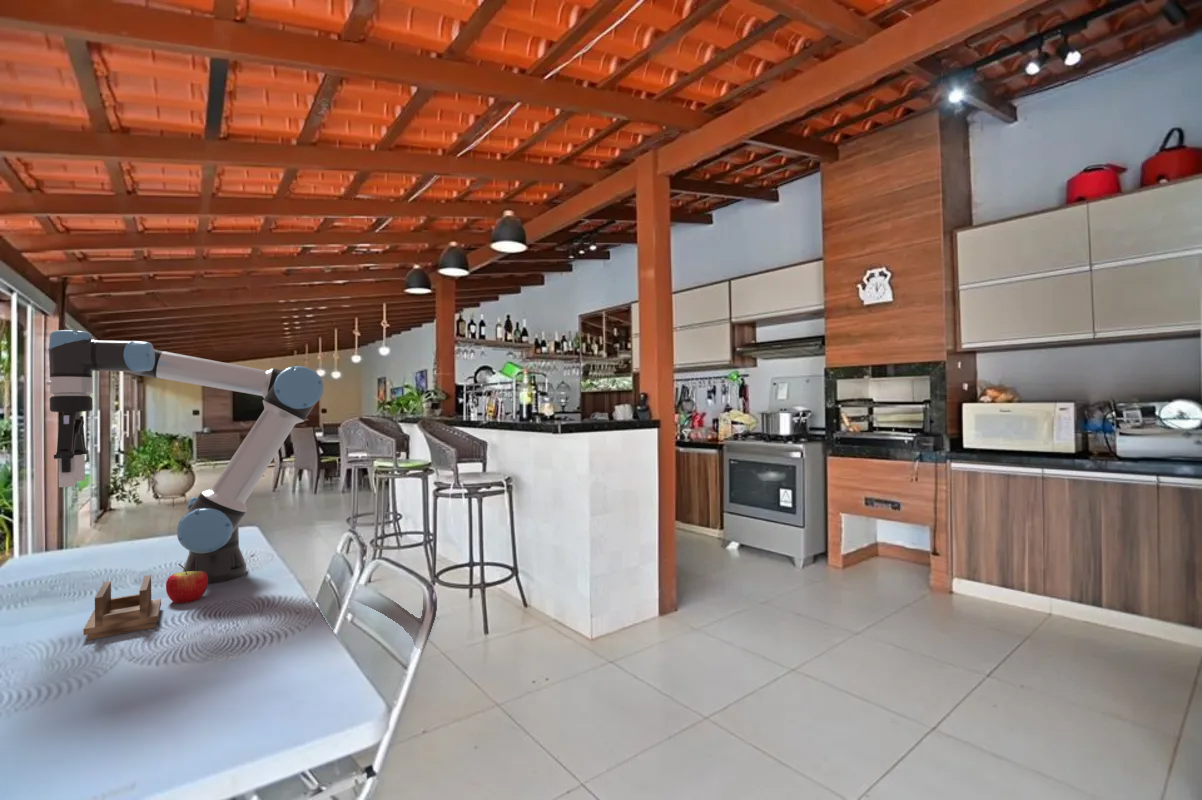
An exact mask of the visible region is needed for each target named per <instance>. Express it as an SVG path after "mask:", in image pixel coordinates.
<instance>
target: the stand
mask: <svg viewBox="0 0 1202 800" xmlns="http://www.w3.org/2000/svg"><path fill="white" fill-rule="evenodd" d="M161 606H162V598H158V599H152V574H149V575H144V577H143V580H142V582H141V585H140V587H139V593H138V594H131V595H125V596H124V595H123V596H119V597H114V598H113V597H112V581H111V580H109V581H108V580H107V581H104V582H103V583H102V585H101V586H100V588H99V590H98V591H97V593H96V595H95V597H94V610H93V611H92V613H91V615H90V616H89V619H88V620H87V622H86V624H85V625H84V628H83V633H82V634H83V636H86V635H87V637H86V638H87V641H88V640H95V639H99V638H106V637H111V636H115V635H121V634H125V633H131V632H138V631H141V630H147V629H152V628H156V623H157V622H158V621H159V617H160V616H159V615H160V611H161Z"/></svg>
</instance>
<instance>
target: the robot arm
mask: <svg viewBox="0 0 1202 800" xmlns="http://www.w3.org/2000/svg"><path fill="white" fill-rule="evenodd" d="M48 341H49V342H48V345H49V346H48V349H47V351H48V361H49V362H48V364H49V365H48V366H49V380H48V381H46V382H45V385H46V386H49V394H51V395H52V396H50V397H49V412H52V413H62V415H59V416H58V420H59V421H58V435H57V447H56V452H55V454H53V459H54V460H58V461H57V462H58V464H57V465H58V488H69V487H76V482H84V481H86V456H85V455H89V452H90V451H89V449H87V447H86V440H85V439H86V438H85V429H84V426H85V421H84V418H85V417H84V415H83V414H81V413H82V412H84V413H85V412H92V411H93V408H94V407H93V397H92V396H90V395H92V394H93V393H94V392H93V391H94V390H93V389H94V388H93V382H94V381H93V372H95V371H96V372H102V371H103V372H123V373H127V374H130V375H134V376H139V377H140V376H144V377H149V378H156V379H161V380H162V379H163V380H167V381H172V382H174V381H175V382H179V383H185V384H190V385H196V386H201V387H202V386H203V387H208V388H209V387H210V388H215V389H221V390H226V391H233V392H238V393H244V394H249V395H256V396H261V397H262V398H263V400H262V404H263V407H264V408H263V411H262V412H261V414H260V415H259V417H258V418H257V420H256V421H255V423H254V424H253V426H252V427H251V429H250V430H249V432H248V433H247V434H246V436H245V438H244V439H243V440H242V442H241V444H240V445H239V447H238V448H237V450H236V451H235V453H234V454H233V456H232V457H231V458H230V460H229V462H228V463H227V464H226V466H225V467H224V469H223V471H222V473H220V474H219V476H218V478H217V479H216V481H215V483H214V485H213V486H212V487H211V488H209V489H206V490H202V491H201V492H200V494H199V495H198V496H197V497H196V496H195V497H190V498H189V500H188V505H187V511H188V512H186V514H184V516H183V517H181V518H180V520H179V522H178V523H177V528H176V536H177V540H178V541H179V543H180V545H181V546H182V547H183V548H184V549H185V550H187V551H188V556H187V558H186V561H185V565H184V566H183V567H184V568H185V570H186V572H187V571H204V572H205V573H206V574H207V576H208V585H210V584H211V585H212V584H217V583H222V582H223V583H224V582H227V581H230V580H235V579H237V578H240V577H242V576H244V575H245V574H247V562H246V560H245V558H244V556H243V554H242V553H243V552H242V551H241V549H240V540H239V539H240V536H239V535H240V533H239V530H240V529H239V524H240V522H241V520H242V519H243V518H244V515H245V514H246V513H247V511H248V508H247V506H246V505H247V504H246V501H247V500H248V498H249V497H250V496H251V494H252V492H253V490H254V489H255V487H256V486H257V485H258V483H259V481H260V479H261V478H262V477H263V475H264V474H265V472H266V470H267V468H268V467H269V466H270V464H271V463H272V461H273V460H274V458H275V456H276V455H277V454H278V452H279V450H280V448H282V445H283V444H284V442H285V441H286V439H287V437H288V436H289V435H290V433H291V431H292V430H293V429H294V427H295V425H297V424H300V423H303V422H305V420H306V419H307V418H308V416H309V415H310V413H311V411H312V410H313V408H314V406H316V404H317V403H318V402H319V401H320V400H321V398H322V395H323V393H324V383H323V380H322V378H321V376H320V375H319V374H318V373H317V372H316V371H315V370H313V369H312V368H310V367H309V368H308V367H307V366H303V365H294V366H290V367H286V368H285V369H281V368H280V369H278V368H274V367H272V368H270V369H268V370H264V369H260V368H255V367H249V366H244V365H240V364H234V363H229V362H228V363H227V362H222V361H218V360H212V359H206V358H202V357H197V356H191V355H185V354H181V353H174V352H169V351H164V350H158V349H155V348H154V345H153V344H152V342H149V341H140V340H98V339H93V337H92V334H91V333H90V332H88V331H84V330H71V329H70V330H69V329H68V330H67V329H64V330H63V329H61V330H59V329H58V330H54V331H52V332H51V333H50V335H49V340H48ZM182 569H183V568H182ZM185 570H184V569H183V570H182V572H185Z"/></svg>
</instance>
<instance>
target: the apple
mask: <svg viewBox="0 0 1202 800" xmlns="http://www.w3.org/2000/svg"><path fill="white" fill-rule="evenodd" d="M177 564H178V566H179V567H181V568H182V569H184V570H185V568H184V566H183V565H181V564H180V563H177ZM208 585H209V584H208V576H207V574H206V573H205V572H204V571H187V572H186V570H185V572H183V571H179V572H176V573H174V574H171V575H170V576H168V578H167V579H166V583H165V590H166V591H165V592H166V594H167V596H168V598H169V599H170V600H171V602H173V603H174V604H186V602H188V603H191V601H192V602H195V600H196V601H199V599H201V598H202V597H203V595H204V593H205V592H206V590H207V587H208Z"/></svg>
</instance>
